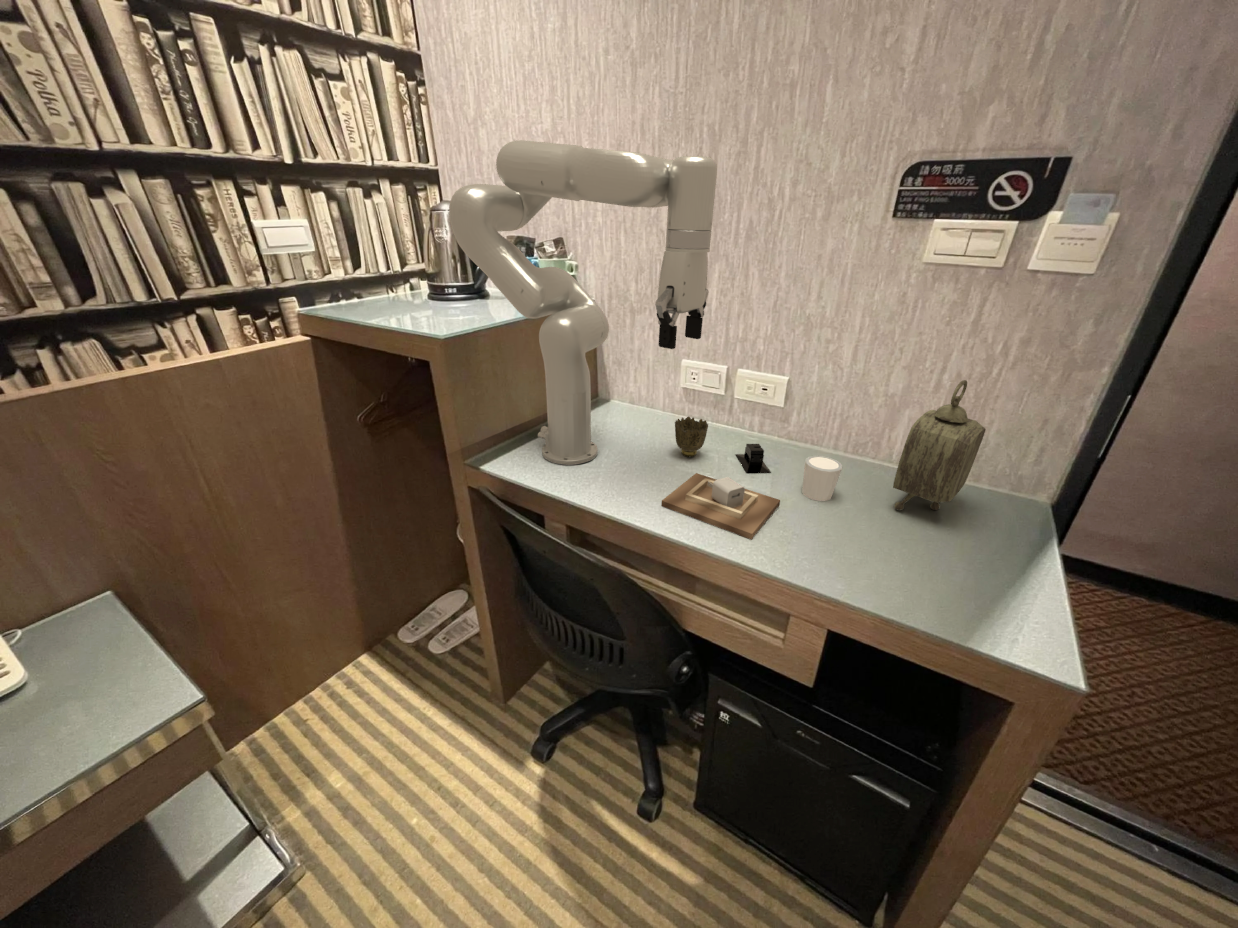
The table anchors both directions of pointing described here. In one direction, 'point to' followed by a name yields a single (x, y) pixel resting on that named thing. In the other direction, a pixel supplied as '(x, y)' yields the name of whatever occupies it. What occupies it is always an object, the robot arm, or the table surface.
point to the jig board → (721, 507)
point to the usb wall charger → (727, 492)
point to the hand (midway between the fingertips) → (680, 342)
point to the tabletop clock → (939, 453)
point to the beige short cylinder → (820, 477)
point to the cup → (690, 435)
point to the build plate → (753, 459)
